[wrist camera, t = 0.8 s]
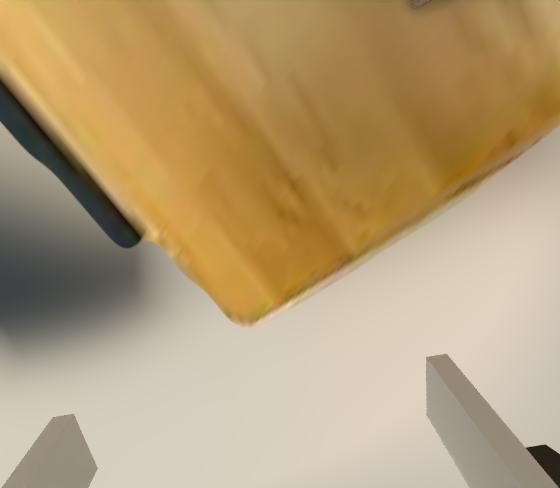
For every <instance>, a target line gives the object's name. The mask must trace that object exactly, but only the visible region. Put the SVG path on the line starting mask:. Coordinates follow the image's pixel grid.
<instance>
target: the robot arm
mask: <svg viewBox="0 0 560 488" xmlns="http://www.w3.org/2000/svg"><path fill="white" fill-rule="evenodd" d="M426 376H427V377H426V381H427V416H428V418H429V419H430V421H431V423H432V425H433V426H434V428H435V430H436V432H437V433H438V435H439V436H440V438H441V440H442V442H443V443H444V445H445V447H446V449H447V450H448V452H449V454H450V455H451V457H452V459H453V460H454V462H455V464H456V466H457V467H458V469H459V470H460V472H461V474H462V476H463V477H464V479H465V481H466V483H467V484H468V486H469V488H560V454H559V453H557V452H556V451H554V450H553V449H551V448H550V447H548V446H547V445H539V446H533V447H528V448H525V447H524V446H523V445H522V443H521V442H520V441H519V440H518V438H517V437H516V436H515V435H514V434H513V433H512V431H511V430H510V429H509V428H508V427H507V426H506V424H505V423H504V422H503V421H502V419H501V418H500V417H499V416H498V415H497V414H496V412H495V411H494V410H493V409H492V407H491V406H490V405H489V404H488V403H487V401H486V400H485V399H484V398H483V397H482V395H480V393H479V392H478V391H477V389H476V388H475V387H474V386H473V385H472V384H471V382H470V381H469V380H468V379H467V378H466V376H465V375H464V374H463V373H462V372H461V370H460V369H459V368H458V367H457V366H456V364H455V363H454V362H453V361H452V360H451V359H450V358H449V356H448V355H447V354H443V355H436V356H430V357H426ZM97 469H98V468H97V466H96V464H95V461H94V459H93V457H92V455H91V452H90V450H89V448H88V446H87V443H86V441H85V439H84V436H83V434H82V432H81V430H80V427H79V425H78V423H77V420H76V418H75V416H74V414H70V415H64V416H58V417H53V418H52V419H51V421H50V422H49V423H48V425H47V426H46V428H45V429H44V430H43V432H42V433H41V434H40V436H39V437H38V439H37V440H36V441H35V443H34V444H33V446H32V447H31V448H30V450H29V451H28V452H27V454H26V455H25V456H24V458H23V459H22V461H21V462H20V463H19V465H18V466H17V467H16V469H15V470H14V472H13V473H12V474H11V476H10V477H9V479H8V480H7V481H6V483H5V484H4V485H3V487H2V488H88V487H89V485H90V483H91V481H92V479H93V477H94V475H95V472H96V471H97Z"/></svg>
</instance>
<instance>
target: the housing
mask: <svg viewBox="0 0 560 488" xmlns="http://www.w3.org/2000/svg"><path fill="white" fill-rule="evenodd" d="M411 1H412V5H413V9H414V8H416V7H418V6H420V5H422V4H425V3H427V2H429V1H431V0H411Z"/></svg>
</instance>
